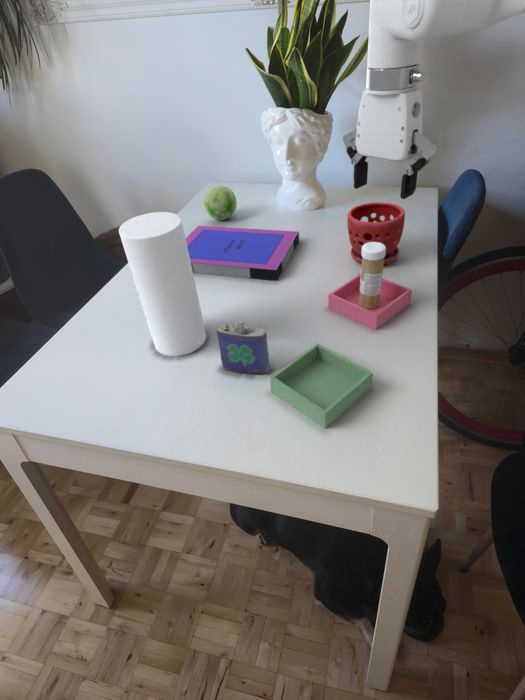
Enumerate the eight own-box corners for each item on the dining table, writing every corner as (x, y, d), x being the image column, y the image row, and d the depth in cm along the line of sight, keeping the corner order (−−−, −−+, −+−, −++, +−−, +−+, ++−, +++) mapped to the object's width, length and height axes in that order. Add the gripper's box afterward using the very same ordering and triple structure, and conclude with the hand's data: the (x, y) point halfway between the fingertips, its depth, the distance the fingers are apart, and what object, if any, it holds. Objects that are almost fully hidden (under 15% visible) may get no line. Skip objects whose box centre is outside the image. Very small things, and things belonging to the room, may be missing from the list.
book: (198, 225, 126) (298, 231, 118) (200, 235, 128) (299, 241, 119) (164, 260, 111) (276, 270, 103) (166, 270, 113) (276, 281, 104)
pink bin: (409, 303, 93) (412, 289, 90) (375, 330, 87) (377, 315, 84) (362, 284, 100) (363, 271, 98) (328, 308, 94) (328, 294, 92)
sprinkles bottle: (360, 297, 95) (363, 240, 87) (381, 299, 94) (387, 241, 85) (356, 308, 92) (360, 250, 83) (378, 311, 91) (384, 252, 82)
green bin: (371, 387, 75) (373, 372, 72) (325, 428, 69) (325, 413, 66) (317, 357, 82) (317, 342, 80) (271, 391, 76) (269, 377, 74)
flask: (271, 366, 81) (267, 319, 74) (267, 377, 79) (262, 330, 72) (225, 360, 83) (216, 315, 77) (219, 371, 81) (210, 325, 74)
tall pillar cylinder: (216, 330, 91) (193, 215, 75) (186, 361, 84) (154, 242, 68) (175, 319, 96) (146, 208, 80) (143, 348, 89) (105, 233, 73)
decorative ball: (229, 226, 131) (224, 193, 125) (201, 223, 135) (195, 191, 129) (244, 213, 138) (240, 181, 131) (217, 210, 142) (212, 179, 135)
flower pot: (395, 244, 113) (401, 199, 106) (403, 269, 103) (409, 221, 96) (344, 246, 115) (346, 201, 108) (347, 271, 105) (349, 224, 98)
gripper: (457, 76, 63) (439, 193, 74) (360, 74, 74) (356, 177, 85) (430, 86, 60) (414, 208, 70) (331, 82, 70) (331, 188, 81)
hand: (382, 191), depth 78 cm, fingers open, 9 cm apart
